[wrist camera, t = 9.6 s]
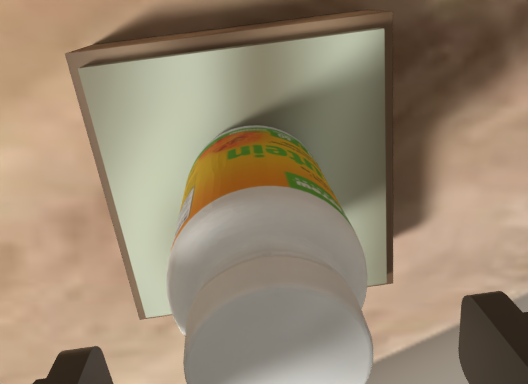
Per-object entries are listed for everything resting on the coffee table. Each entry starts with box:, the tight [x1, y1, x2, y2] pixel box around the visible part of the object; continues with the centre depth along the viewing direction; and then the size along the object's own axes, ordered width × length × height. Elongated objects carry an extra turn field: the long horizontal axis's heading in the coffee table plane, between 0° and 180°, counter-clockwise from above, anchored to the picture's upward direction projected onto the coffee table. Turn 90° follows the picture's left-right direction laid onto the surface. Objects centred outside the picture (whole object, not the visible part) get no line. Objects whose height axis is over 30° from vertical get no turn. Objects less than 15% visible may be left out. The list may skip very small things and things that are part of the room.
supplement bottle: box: [166, 125, 373, 384], centre depth 14 cm, size 5×5×10 cm
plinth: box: [65, 10, 393, 320], centre depth 20 cm, size 12×12×4 cm
